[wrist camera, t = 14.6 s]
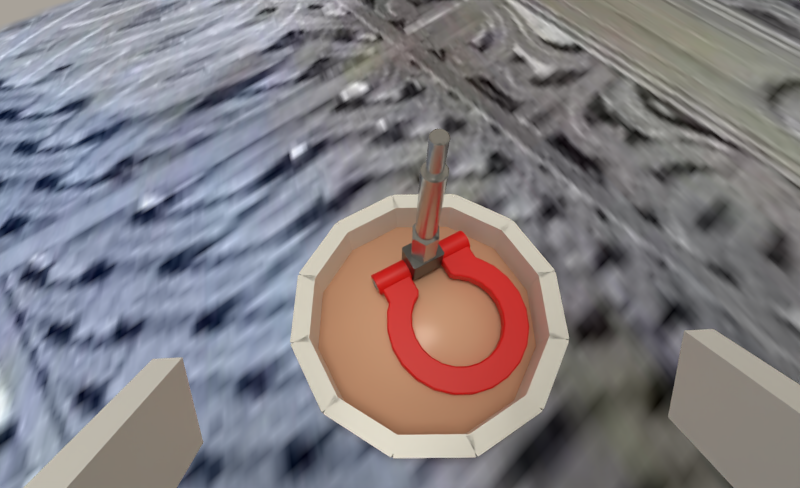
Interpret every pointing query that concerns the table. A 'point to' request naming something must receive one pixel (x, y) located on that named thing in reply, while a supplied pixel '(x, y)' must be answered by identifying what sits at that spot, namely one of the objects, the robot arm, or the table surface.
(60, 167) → the table surface
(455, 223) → the round tray
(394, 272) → the tow hook
